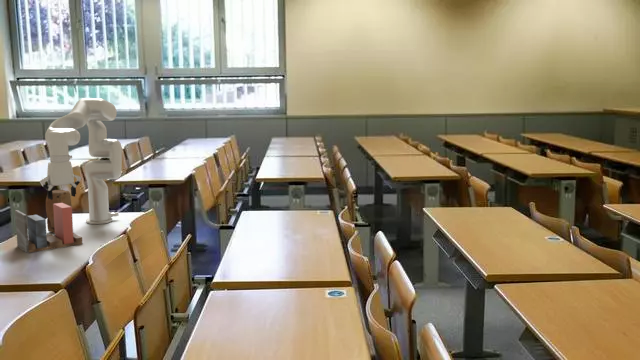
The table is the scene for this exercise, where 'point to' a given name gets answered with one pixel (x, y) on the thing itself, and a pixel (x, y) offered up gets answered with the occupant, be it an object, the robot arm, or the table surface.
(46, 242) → the book stand
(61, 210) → the book
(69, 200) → the block
